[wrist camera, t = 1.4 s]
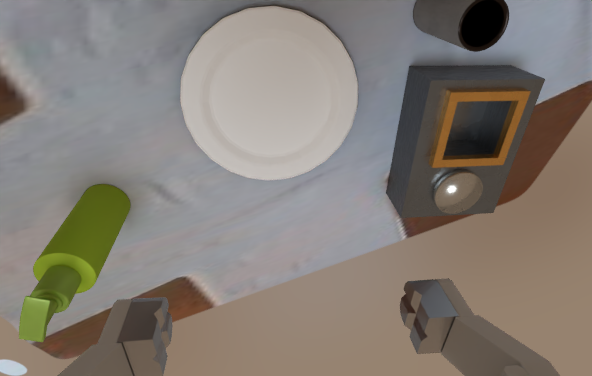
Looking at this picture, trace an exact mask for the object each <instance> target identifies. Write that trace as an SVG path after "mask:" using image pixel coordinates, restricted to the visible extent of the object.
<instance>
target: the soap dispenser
mask: <svg viewBox="0 0 592 376" xmlns="http://www.w3.org/2000/svg"><path fill="white" fill-rule="evenodd" d="M129 210H130V201H129V198H128V197H127V195H126V194H125V193H124V192H123V191H121V190H120V189H118V188H116V187H114V186H111V185H106V184H98V185H94V186H92V187H90V188H88V189H87V190H86V191H85V193H84V194H83V196H82V197H81V198H80V200H79V201H78V203H77V204H76V205H75V207H74V208H73V210H72V211H71V213H70V214H69V215H68V217H67V218H66V220H65V221H64V222H63V224H62V225H61V227H60V228H59V229H58V231H57V232H56V234H55V235H54V237H53V238H52V239H51V241H50V242H49V244H48V245H47V246H46V248H45V249H44V251H43V252H42V254H41V255H40V256H39V258H38V259H37V261H36V262H35V264H34V267H33V272H34V275H35V277H36V279H37V280H38V281H39V283H38V284H37V286H36V287H35V289H34V290H33V292H32V293H31V295H30V296H26V297H25V299H24V303H23V307H22V312H21V317H20V326H19V339H24V340H31V341H38V342H43V341H44V339H45V337H46V330H47V325H48V323H49V321H50V320H51V318H52V316H53V314H54V313H59V312H62V311H64V310H66V309H67V308H68V306H69V304H70V303H71V301H72V299H73V297H74V295H75V294H77V293H82V292H85V291H87V290H89V289H90V288H91V287H92V286H93V285H94V284H95V282H96V280H97V278H98V276H99V274H100V271H101V269H102V267H103V265H104V263H105V261H106V259H107V257H108V255H109V253H110V250H111V248H112V246H113V244H114V242H115V240H116V238H117V236H118V234H119V232H120V229H121V227H122V225H123V223H124V221H125V219H126V217H127V215H128V213H129Z"/></svg>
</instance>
